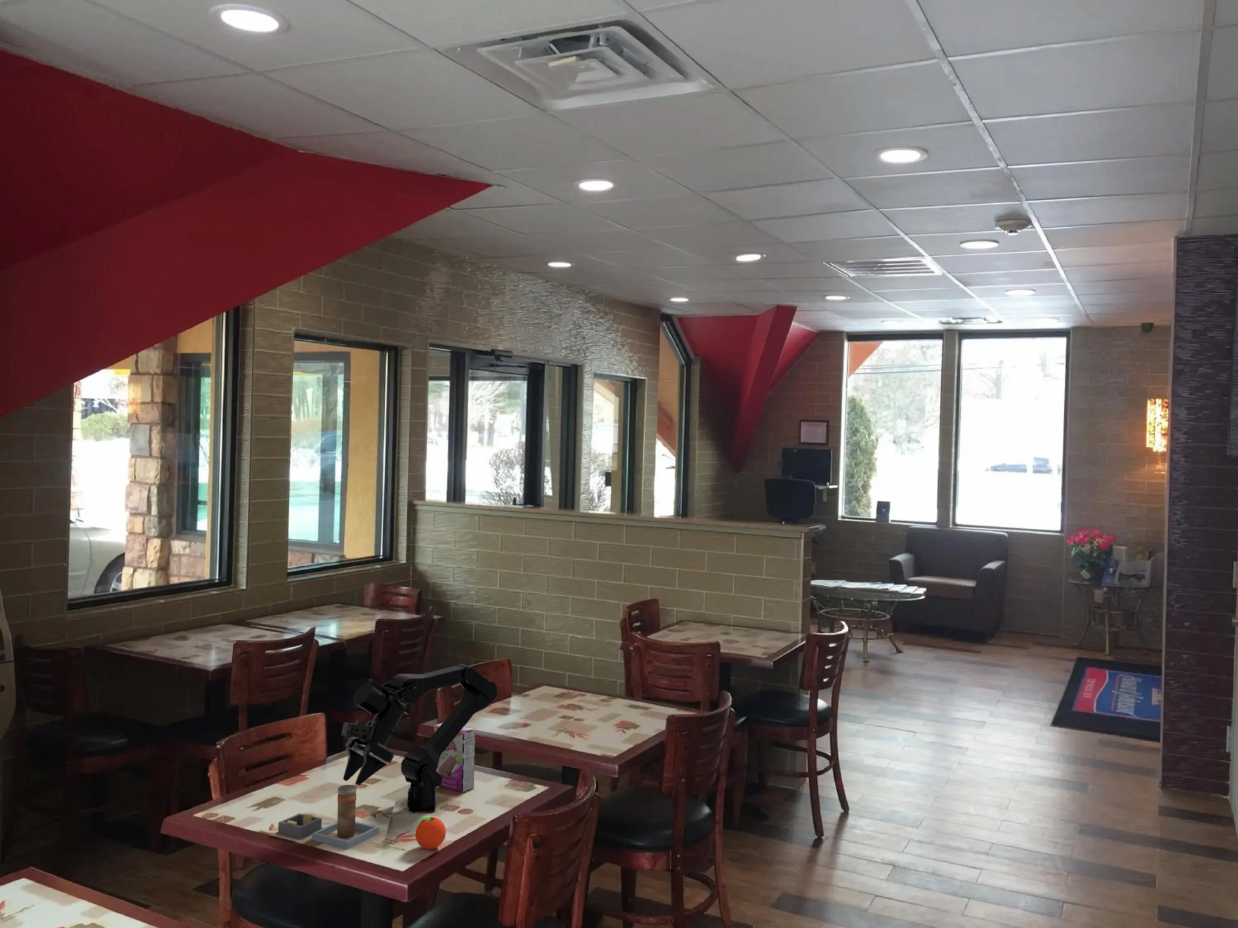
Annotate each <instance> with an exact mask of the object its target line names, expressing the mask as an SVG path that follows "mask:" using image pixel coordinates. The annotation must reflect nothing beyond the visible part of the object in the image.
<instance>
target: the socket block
mask: <svg viewBox="0 0 1238 928" xmlns="http://www.w3.org/2000/svg"><path fill="white" fill-rule="evenodd" d="M322 822H323V821H322V818H321V817H316V816H314V815H313V814H308V813H296V814H294V815H292V816H290V817H287V818H285V819H283V820H280V821H279V822H277V823H278V824H277V825H278V827H277V829H278V830H277V832H275V833H274V835H279V836H282V837H287V838H290V839H293V840H294V839H295V840H299V841H302V840H304V839H307V838H308V837H312V833H314V832H316V831H318V830H320V829H322V828H323V827H322Z"/></svg>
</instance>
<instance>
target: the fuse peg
mask: <svg viewBox="0 0 1238 928" xmlns="http://www.w3.org/2000/svg"><path fill="white" fill-rule="evenodd" d="M356 802H357V786H356V785H353V784H344V785H343V784H342V785H340V786H339V787H337V816H336V817H337V821H336V822H337V830H336V838H340V839H344V840H350V839H352V838H354V837H356V830H355V821H356V808H357V806H356V805H357V803H356Z"/></svg>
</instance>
